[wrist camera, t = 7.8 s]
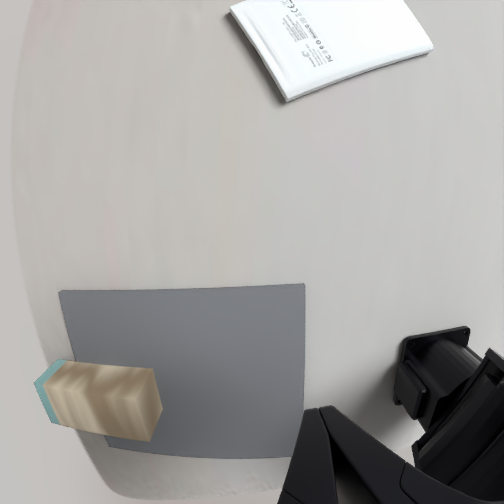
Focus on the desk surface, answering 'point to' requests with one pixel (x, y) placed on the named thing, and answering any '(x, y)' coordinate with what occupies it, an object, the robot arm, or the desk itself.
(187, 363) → the rubber mat
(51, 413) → the birch block
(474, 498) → the robot arm
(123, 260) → the desk surface
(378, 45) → the external hard drive
